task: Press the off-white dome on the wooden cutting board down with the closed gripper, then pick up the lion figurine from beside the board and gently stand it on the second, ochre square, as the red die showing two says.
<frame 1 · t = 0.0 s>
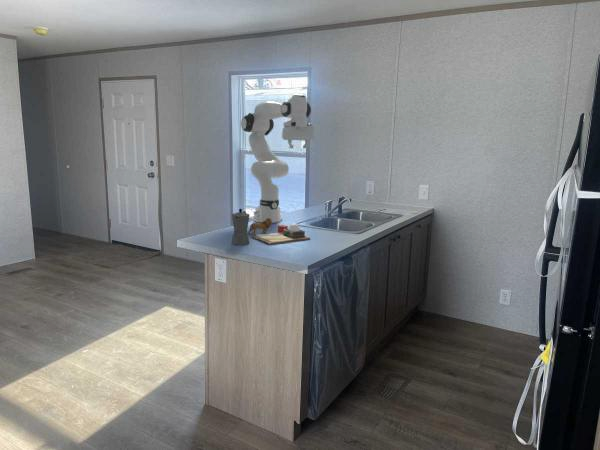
hand: (298, 148, 253), 48 cm above the table, tool pointing down, fingers open, 8 cm apart
lion figurine: (260, 234, 250), on the table
dome: (294, 228, 243), point 5 cm above the table, slide at 0.0 cm
coffeepot: (241, 243, 229), on the table
red die: (282, 232, 255), on the table
wooden cutting board: (280, 238, 240), on the table
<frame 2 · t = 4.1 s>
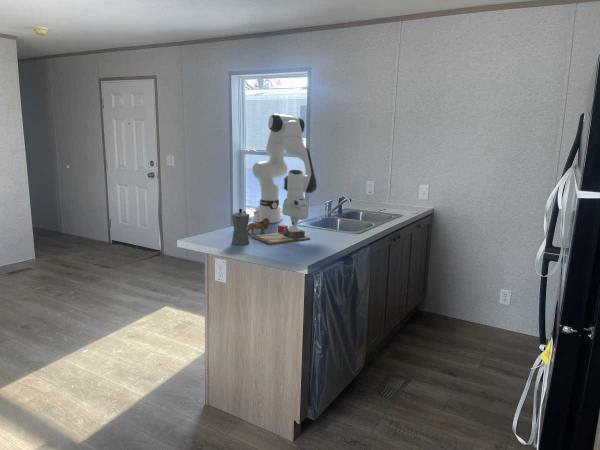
hand: (294, 225, 243), 7 cm above the table, tool pointing down, fingers closed, pressing on dome
lion figurine: (258, 234, 250), on the table
dome: (294, 230, 243), point 4 cm above the table, slide at 0.9 cm, touching gripper
everything else where it was.
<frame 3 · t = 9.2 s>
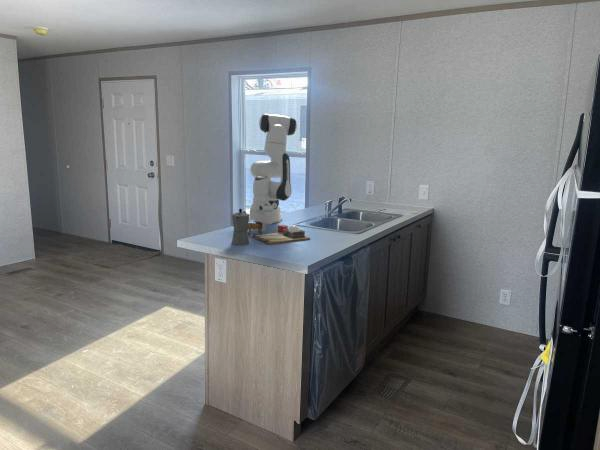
hand: (260, 229, 250), 3 cm above the table, tool pointing down, fingers closed on lion figurine, 4 cm apart
lion figurine: (255, 234, 249), on the table, touching gripper
dome: (294, 230, 243), point 4 cm above the table, slide at 1.0 cm
everything else where it was.
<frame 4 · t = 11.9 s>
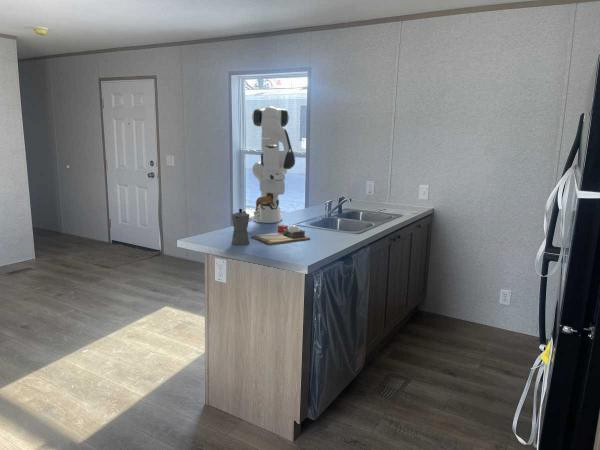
hand: (271, 201, 236), 20 cm above the table, tool pointing down, fingers closed on lion figurine, 4 cm apart
lion figurine: (268, 207, 237), point 17 cm above the table, touching gripper
everything else where it was.
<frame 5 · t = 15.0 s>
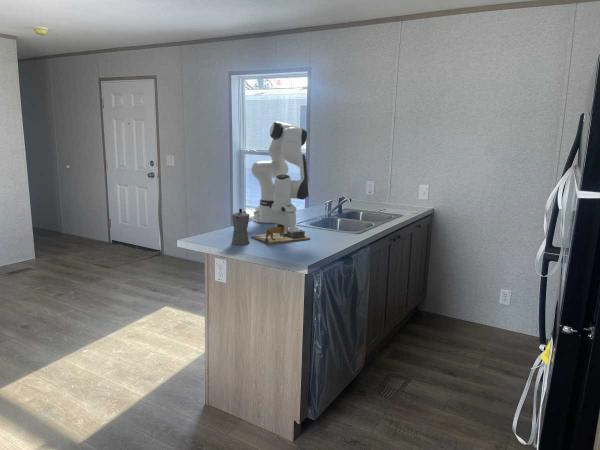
hand: (281, 232, 231), 5 cm above the table, tool pointing down, fingers closed on lion figurine, 4 cm apart
lion figurine: (277, 238, 232), point 2 cm above the table, touching gripper
everything else where it was.
when the fingers open (4 cm above the table, at t = 15.7 s): lion figurine moves 2 cm, resting on wooden cutting board.
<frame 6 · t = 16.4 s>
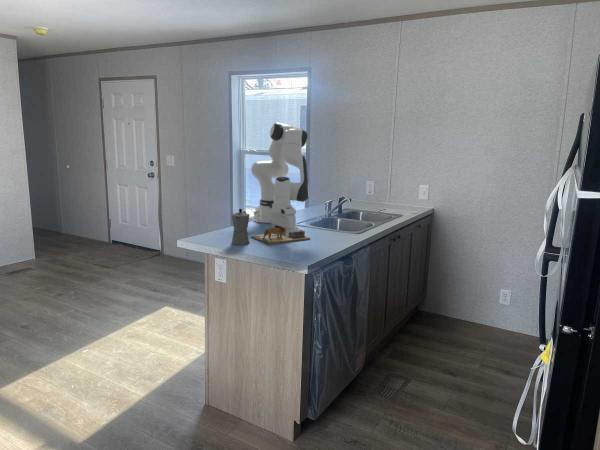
hand: (281, 234, 232), 4 cm above the table, tool pointing down, fingers open, 8 cm apart
lion figurine: (274, 239, 233), point 1 cm above the table, touching wooden cutting board, gripper
everything else where it was.
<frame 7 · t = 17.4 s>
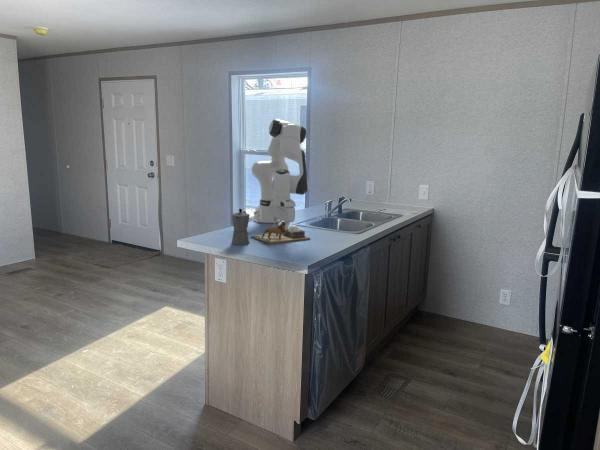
hand: (280, 227, 231), 8 cm above the table, tool pointing down, fingers open, 8 cm apart
lion figurine: (273, 236, 235), point 2 cm above the table, touching wooden cutting board
everything else where it was.
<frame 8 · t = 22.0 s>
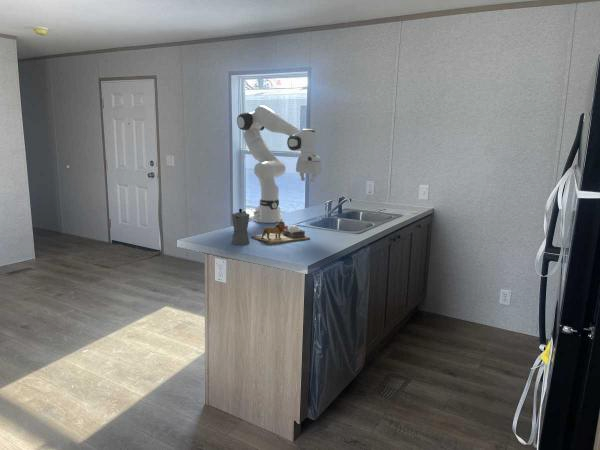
hand: (307, 181, 257), 29 cm above the table, tool pointing down, fingers open, 8 cm apart
lion figurine: (273, 238, 235), point 1 cm above the table, touching wooden cutting board
everything else where it was.
at the end: lion figurine inside the target area on the wooden cutting board (3.5 cm from its centre), point 1.0 cm above the wooden cutting board's base; lion figurine tilted 0°; dome slide at 1.0 cm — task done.
